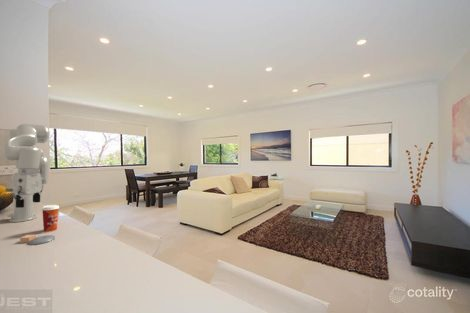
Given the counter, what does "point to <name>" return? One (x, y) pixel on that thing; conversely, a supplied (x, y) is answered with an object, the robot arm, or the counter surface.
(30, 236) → the gray paddle
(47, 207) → the paper cup
